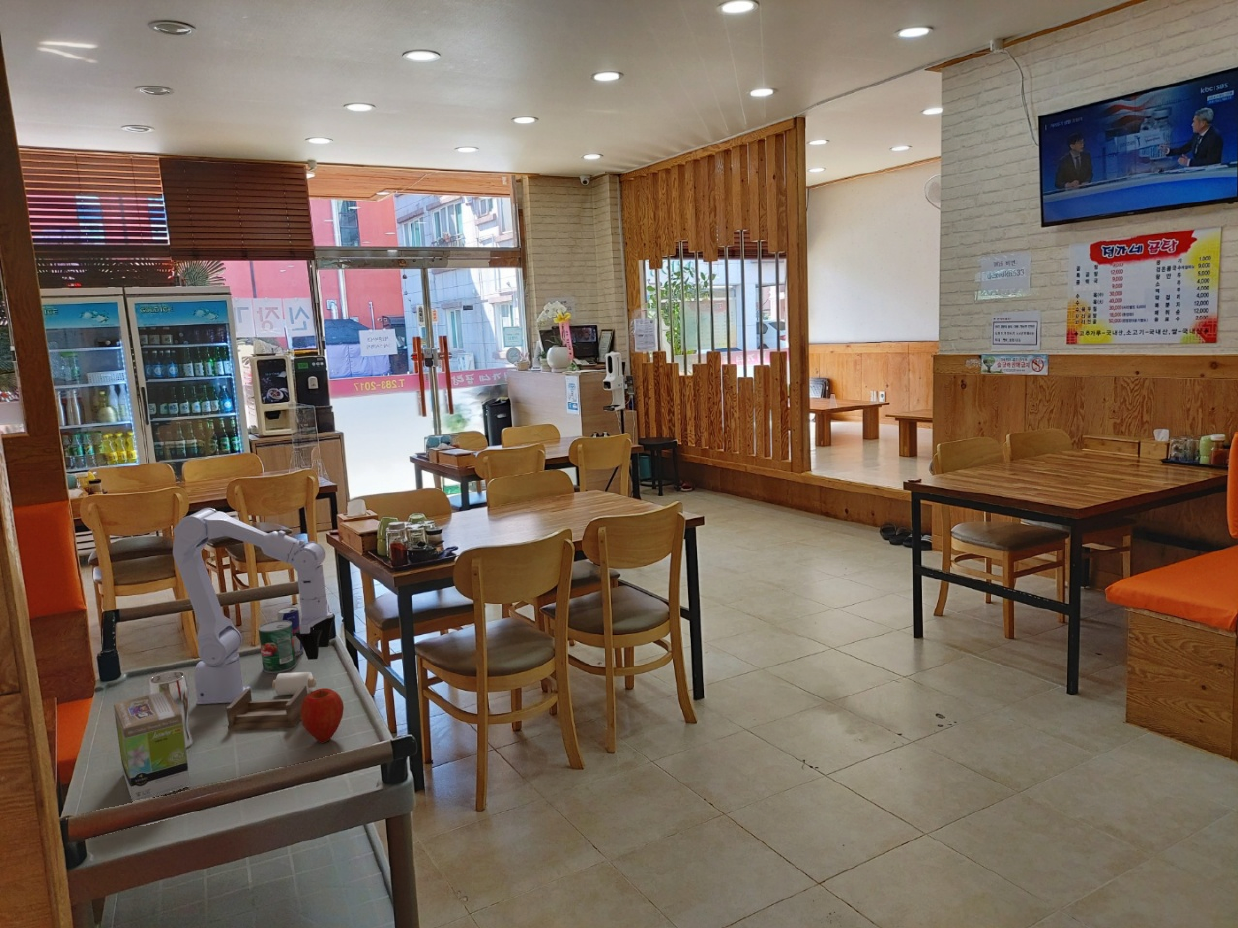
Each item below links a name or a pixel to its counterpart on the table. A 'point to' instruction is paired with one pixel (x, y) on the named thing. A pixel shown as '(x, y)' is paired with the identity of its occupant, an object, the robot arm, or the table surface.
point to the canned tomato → (277, 646)
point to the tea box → (152, 745)
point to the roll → (293, 682)
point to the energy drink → (294, 617)
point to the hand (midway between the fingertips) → (318, 652)
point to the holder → (264, 711)
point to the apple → (322, 713)
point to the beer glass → (175, 695)
